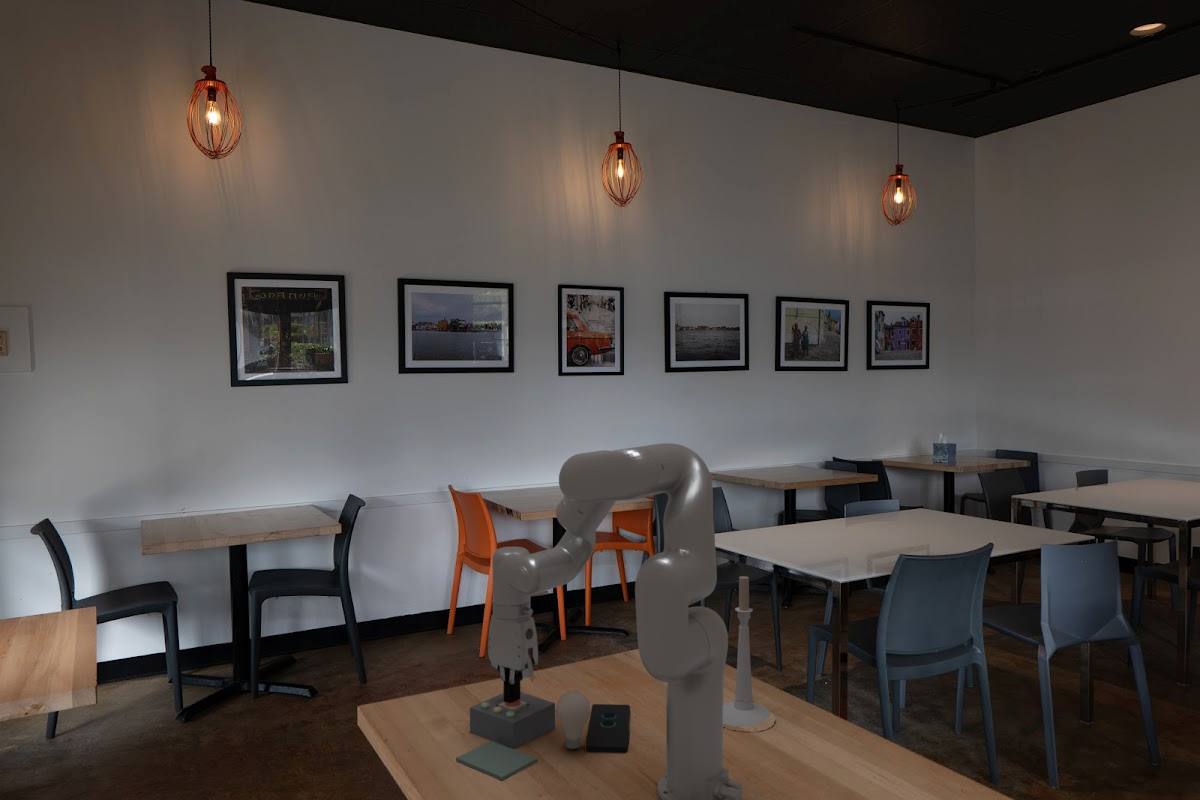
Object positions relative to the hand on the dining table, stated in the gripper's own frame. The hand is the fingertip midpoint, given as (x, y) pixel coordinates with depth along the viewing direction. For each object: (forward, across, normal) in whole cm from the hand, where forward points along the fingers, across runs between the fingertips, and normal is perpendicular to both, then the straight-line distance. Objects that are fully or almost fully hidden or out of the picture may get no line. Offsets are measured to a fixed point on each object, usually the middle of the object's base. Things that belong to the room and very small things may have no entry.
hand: (512, 700), depth 167 cm
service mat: (+6, -7, +12) cm, 15 cm away
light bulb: (+6, -15, -1) cm, 16 cm away
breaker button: (+4, 0, 0) cm, 4 cm away
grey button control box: (+6, 0, 0) cm, 6 cm away
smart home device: (+7, -15, -12) cm, 21 cm away
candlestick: (+6, -34, -33) cm, 48 cm away
